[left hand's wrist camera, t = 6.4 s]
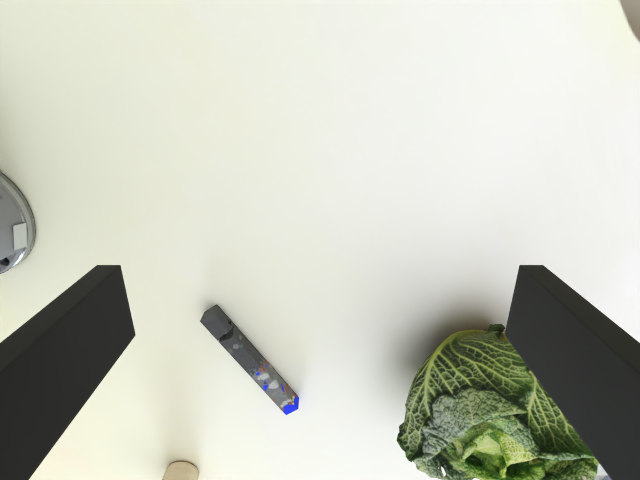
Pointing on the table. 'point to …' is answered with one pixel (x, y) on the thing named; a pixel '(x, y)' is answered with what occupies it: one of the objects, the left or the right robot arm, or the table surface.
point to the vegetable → (488, 416)
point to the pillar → (250, 359)
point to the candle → (181, 472)
